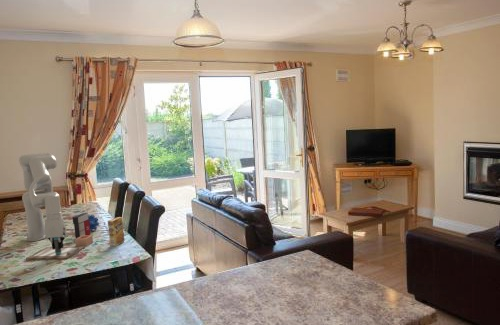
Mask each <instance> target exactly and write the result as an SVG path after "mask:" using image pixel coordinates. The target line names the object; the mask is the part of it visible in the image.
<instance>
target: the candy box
mask: <svg viewBox="0 0 500 325" xmlns="http://www.w3.org/2000/svg"><path fill="white" fill-rule="evenodd" d="M107 228H108V236H109V237H108V238H109V246H111V247H112V246H113V247H116V246H118V245H121V244H122V243H124V241H125V231H124V223H123V217H122V216H116V217H114V218H112V219H109V220H107Z"/></svg>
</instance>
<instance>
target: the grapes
mask: <svg viewBox="0 0 500 325" xmlns="http://www.w3.org/2000/svg"><path fill="white" fill-rule="evenodd" d="M88 220H89V226H90V232H92V231H93V230H95V231H96V230H97V229H98V226H100V223H99V218H98V217H96V216H95V214H91V215H90V214H89V213H88Z"/></svg>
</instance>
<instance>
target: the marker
mask: <svg viewBox="0 0 500 325" xmlns="http://www.w3.org/2000/svg"><path fill="white" fill-rule="evenodd" d="M58 242H59V240H58V237H55V238H54V246H55V254H56V255H59V254H61V249H59V248H58Z"/></svg>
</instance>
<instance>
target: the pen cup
mask: <svg viewBox="0 0 500 325" xmlns="http://www.w3.org/2000/svg"><path fill="white" fill-rule="evenodd" d="M74 241H75V247H88V246H90V245H92V244H93V243H94V239H93V235H92V234H90V235H86V236H80V237H78V238H76V237H75V239H74Z"/></svg>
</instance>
